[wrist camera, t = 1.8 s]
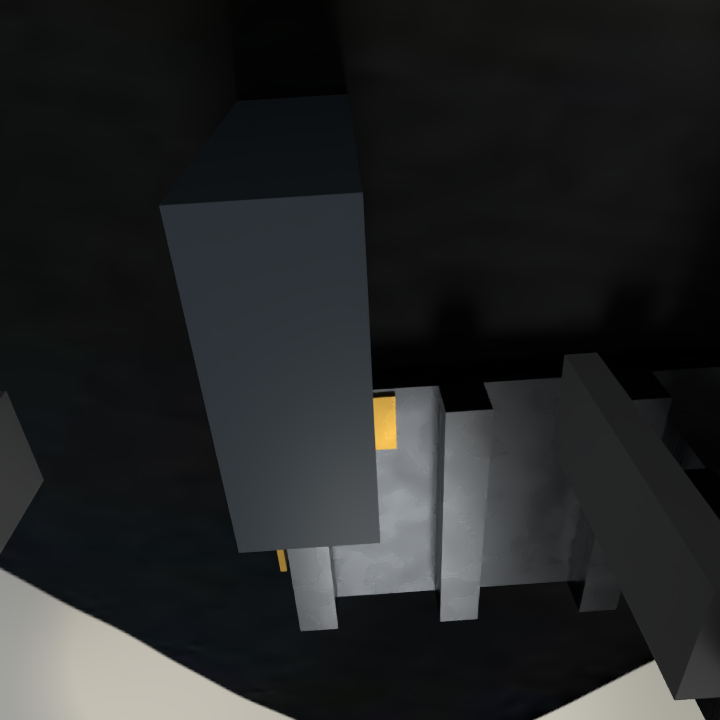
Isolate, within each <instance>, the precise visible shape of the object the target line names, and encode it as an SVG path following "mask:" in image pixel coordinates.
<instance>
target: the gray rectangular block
mask: <svg viewBox="0 0 720 720" xmlns="http://www.w3.org/2000/svg"><path fill="white" fill-rule="evenodd" d="M159 207H160V211H161V216H162V220H163V224H164V229H165V233H166V237H167V242H168V246H169V250H170V255H171V259H172V264H173V268H174V272H175V277H176V281H177V285H178V290H179V294H180V298H181V303H182V307H183V311H184V316H185V320H186V324H187V329H188V333H189V337H190V342H191V346H192V350H193V355H194V359H195V364H196V368H197V372H198V377H199V381H200V385H201V390H202V394H203V398H204V403H205V407H206V411H207V416H208V420H209V424H210V429H211V433H212V437H213V442H214V446H215V450H216V455H217V459H218V464H219V468H220V472H221V477H222V481H223V485H224V490H225V494H226V498H227V503H228V507H229V511H230V516H231V520H232V524H233V529H234V533H235V537H236V542H237V546H238V550H239V553H241V552H256V551H271V550H285V549H300V548H314V547H329V546H344V545H358V544H373V543H380V526H379V506H378V486H377V466H376V446H375V426H374V406H373V387H372V367H371V347H370V327H369V307H368V287H367V267H366V247H365V228H364V208H363V191H362V184H361V178H360V171H359V164H358V158H357V151H356V145H355V138H354V131H353V125H352V118H351V111H350V105H349V98H348V94H341V95H325V96H309V97H293V98H277V99H262V100H246V101H237V102H236V104H235V105H234V106H233V108H232V109H231V110H230V112H229V113H228V114H227V116H226V117H225V118H224V120H223V121H222V122H221V124H220V125H219V126H218V128H217V129H216V130H215V132H214V133H213V134H212V136H211V137H210V138H209V140H208V141H207V142H206V144H205V145H204V146H203V148H202V149H201V150H200V152H199V153H198V154H197V156H196V157H195V158H194V160H193V161H192V162H191V164H190V165H189V166H188V168H187V169H186V170H185V172H184V173H183V174H182V176H181V177H180V178H179V180H178V181H177V182H176V184H175V185H174V186H173V188H172V189H171V190H170V192H169V193H168V194H167V196H166V197H165V198H164V200H163V201H162V203H161V204H160V205H159Z"/></svg>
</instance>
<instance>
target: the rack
mask: <svg viewBox="0 0 720 720" xmlns="http://www.w3.org/2000/svg"><path fill="white" fill-rule="evenodd" d="M600 357H601V359H602V360H603V361H604V363H605V364H606V365H607V367H608V368H609V370H610V371H611V372H612V374H613V375H614V376H615V378H616V379H617V381H618V382H619V383H620V385H621V386H622V387H623V389H624V390H625V391H626V393H627V394H628V396H629V397H630V398H631V400H632V401H633V402H634V404H635V405H636V406H637V408H638V409H639V411H640V412H641V413H642V415H643V416H644V417H645V419H646V420H647V421H648V423H649V424H650V426H651V427H652V428H653V430H654V431H655V432H656V434H657V435H658V436H659V438H660V439H661V441H662V442H663V443H664V445H665V446H666V447H667V449H668V450H669V452H670V453H671V454H672V456H673V457H674V458H675V460H676V461H677V462H678V464H679V465H680V467H681V468H682V469H683V470H687V469H702V468H709V469H711V470H712V471H714V472H715V473H716V474H718V475H719V476H720V349H704V350H689V351H674V352H659V353H644V354H629V355H614V356H600ZM563 363H564V359H553V360H538V361H523V362H508V363H493V364H478V365H463V366H448V367H433V368H418V369H403V370H387V371H372V387H373V406H374V426H375V446H376V466H377V486H378V506H379V526H380V543H373V544H358V545H344V546H329V547H314V548H300V549H285V550H277V553H278V559H279V564H280V570H281V571H287V561H288V558H289V564H290V570H291V576H292V582H293V588H294V594H295V600H296V606H297V611H298V617H299V623H300V629H301V631H309V630H323V629H337V628H338V597H339V596H354V595H368V594H383V593H397V592H412V591H427V590H435V594H436V600H437V606H438V612H439V618H440V621H453V620H468V619H477V615H478V603H479V590H480V587H485V586H499V585H514V584H528V583H543V582H557V581H567V582H568V585H569V587H570V590H571V592H572V595H573V598H574V600H575V603H576V605H577V608H578V610H579V612H583V611H598V610H612V609H616V607H617V604H618V600H619V596H620V592H621V588H620V586H619V584H618V582H617V580H616V578H615V576H614V574H613V572H612V570H611V568H610V566H609V564H608V561H607V559H606V557H605V555H604V553H603V551H602V549H601V547H600V545H599V543H598V541H597V539H596V537H595V535H594V532H593V530H592V528H591V526H590V524H589V522H588V520H587V518H586V516H585V514H584V512H583V510H582V508H581V506H580V503H579V501H578V499H577V497H576V495H575V493H574V491H573V489H572V487H571V485H570V483H569V481H568V479H567V477H566V474H565V472H564V470H563V468H562V466H561V464H560V462H559V460H558V458H557V456H556V454H555V452H554V450H553V447H552V443H553V435H554V428H555V421H556V414H557V406H558V399H559V392H560V385H561V378H562V370H563ZM695 700H696V702H697V704H698V706H699V708H700V710H701V712H702V714H703V716H704V718H705V719H706V720H720V697H715V698H701V699H695Z"/></svg>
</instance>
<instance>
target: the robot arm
mask: <svg viewBox="0 0 720 720" xmlns="http://www.w3.org/2000/svg"><path fill="white" fill-rule="evenodd" d="M552 447H553V450H554V452H555V454H556V456H557V458H558V460H559V462H560V464H561V466H562V468H563V470H564V472H565V474H566V477H567V479H568V481H569V483H570V485H571V487H572V489H573V491H574V493H575V495H576V497H577V499H578V501H579V503H580V506H581V508H582V510H583V512H584V514H585V516H586V518H587V520H588V522H589V524H590V526H591V528H592V530H593V532H594V535H595V537H596V539H597V541H598V543H599V545H600V547H601V549H602V551H603V553H604V555H605V557H606V559H607V561H608V564H609V566H610V568H611V570H612V572H613V574H614V576H615V578H616V580H617V582H618V584H619V586H620V588H621V590H622V593H623V595H624V597H625V599H626V601H627V603H628V605H629V607H630V609H631V611H632V613H633V615H634V617H635V620H636V622H637V624H638V626H639V628H640V630H641V632H642V634H643V636H644V638H645V640H646V642H647V644H648V646H649V649H650V651H651V653H652V655H653V657H654V659H655V661H656V663H657V665H658V667H659V669H660V671H661V673H662V675H663V678H664V680H665V681H666V684H667V686H668V688H669V690H670V692H671V694H672V696H673V698H674V700H686V699H701V698H715V697H720V476H719V475H718V474H716V473H715V472H714V471H712V470H711V469H709V468H702V469H687V470H683V469H682V468H681V467H680V465H679V464H678V462H677V461H676V460H675V458H674V457H673V456H672V454H671V453H670V452H669V450H668V449H667V447H666V446H665V445H664V443H663V442H662V441H661V439H660V438H659V436H658V435H657V434H656V432H655V431H654V430H653V428H652V427H651V426H650V424H649V423H648V421H647V420H646V419H645V417H644V416H643V415H642V413H641V412H640V411H639V409H638V408H637V406H636V405H635V404H634V402H633V401H632V400H631V398H630V397H629V396H628V394H627V393H626V391H625V390H624V389H623V387H622V386H621V385H620V383H619V382H618V381H617V379H616V378H615V376H614V375H613V374H612V372H611V371H610V370H609V368H608V367H607V365H606V364H605V363H604V361H603V360H602V359H601V357H600V356H599V355H598V353H583V354H568V355H565V356H564V363H563V370H562V378H561V385H560V392H559V399H558V406H557V414H556V421H555V428H554V435H553V443H552ZM42 482H43V477H42V475H41V473H40V470H39V468H38V466H37V463H36V461H35V458H34V456H33V454H32V451H31V449H30V447H29V444H28V442H27V439H26V437H25V435H24V432H23V430H22V428H21V425H20V423H19V420H18V418H17V416H16V413H15V411H14V409H13V406H12V404H11V402H10V399H9V397H8V394H7V392H6V391H3V392H0V553H1V552H2V550H3V548H4V547H5V545H6V543H7V541H8V540H9V538H10V536H11V535H12V533H13V531H14V530H15V528H16V526H17V524H18V523H19V521H20V519H21V518H22V516H23V514H24V513H25V511H26V509H27V508H28V506H29V504H30V502H31V501H32V499H33V497H34V496H35V494H36V492H37V491H38V489H39V487H40V486H41V484H42Z"/></svg>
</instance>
